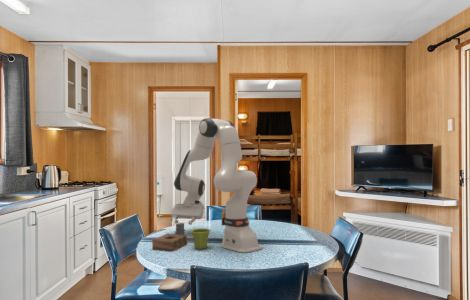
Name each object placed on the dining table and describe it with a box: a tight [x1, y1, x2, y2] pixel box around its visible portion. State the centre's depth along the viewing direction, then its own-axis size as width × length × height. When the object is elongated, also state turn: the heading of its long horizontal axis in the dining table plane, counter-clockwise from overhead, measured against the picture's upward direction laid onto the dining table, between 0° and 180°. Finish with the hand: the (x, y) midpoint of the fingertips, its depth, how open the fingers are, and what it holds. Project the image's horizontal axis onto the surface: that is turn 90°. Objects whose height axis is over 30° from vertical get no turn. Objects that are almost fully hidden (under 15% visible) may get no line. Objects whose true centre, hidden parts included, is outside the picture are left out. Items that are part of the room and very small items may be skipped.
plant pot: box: [191, 228, 211, 250], centre depth 165 cm, size 9×9×9 cm
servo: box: [174, 222, 186, 235], centre depth 186 cm, size 6×3×9 cm, turn 160°
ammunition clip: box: [221, 206, 226, 226], centre depth 222 cm, size 11×2×12 cm, turn 108°
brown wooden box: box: [151, 233, 188, 252], centre depth 168 cm, size 14×12×5 cm
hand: (182, 223), depth 189 cm, fingers open, 8 cm apart
